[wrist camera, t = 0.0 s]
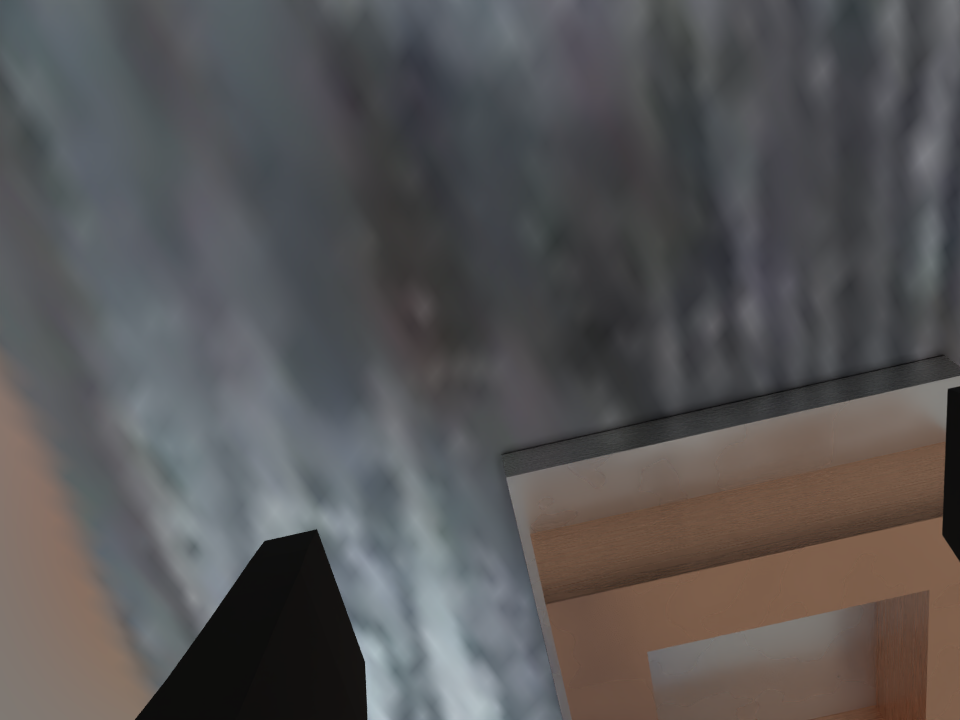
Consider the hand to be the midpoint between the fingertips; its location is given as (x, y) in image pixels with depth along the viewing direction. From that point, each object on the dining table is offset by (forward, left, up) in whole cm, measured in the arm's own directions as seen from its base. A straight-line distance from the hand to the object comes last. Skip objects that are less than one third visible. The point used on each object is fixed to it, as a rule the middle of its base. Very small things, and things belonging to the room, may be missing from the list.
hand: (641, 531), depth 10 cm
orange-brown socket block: (-12, -4, -10) cm, 16 cm away
